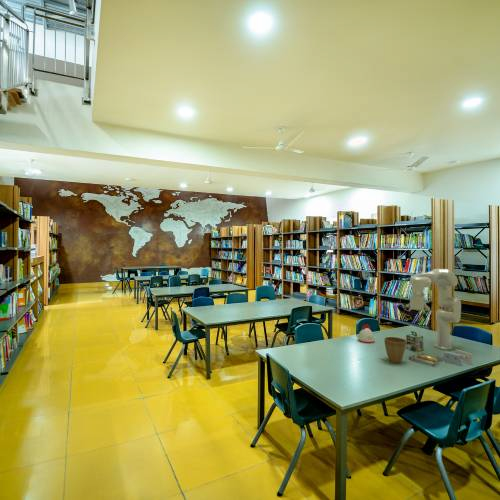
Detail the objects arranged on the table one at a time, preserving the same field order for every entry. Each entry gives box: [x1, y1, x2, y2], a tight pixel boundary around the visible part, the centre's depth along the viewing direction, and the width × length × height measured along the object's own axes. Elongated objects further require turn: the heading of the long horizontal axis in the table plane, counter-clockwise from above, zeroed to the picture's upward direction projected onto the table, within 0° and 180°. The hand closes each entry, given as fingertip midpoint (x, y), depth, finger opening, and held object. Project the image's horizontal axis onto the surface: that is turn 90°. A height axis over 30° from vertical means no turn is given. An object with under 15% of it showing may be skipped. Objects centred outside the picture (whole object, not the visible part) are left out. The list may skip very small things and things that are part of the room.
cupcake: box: [357, 323, 376, 345], centre depth 280 cm, size 14×14×15 cm
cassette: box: [455, 348, 473, 366], centre depth 229 cm, size 12×2×8 cm, turn 19°
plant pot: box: [383, 336, 407, 364], centre depth 231 cm, size 15×15×16 cm
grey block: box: [443, 351, 462, 367], centre depth 227 cm, size 3×10×7 cm, turn 37°
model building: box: [405, 330, 425, 353], centre depth 257 cm, size 9×9×15 cm
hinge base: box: [408, 352, 444, 367], centre depth 233 cm, size 18×19×3 cm
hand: (417, 317), depth 235 cm, fingers open, 9 cm apart
